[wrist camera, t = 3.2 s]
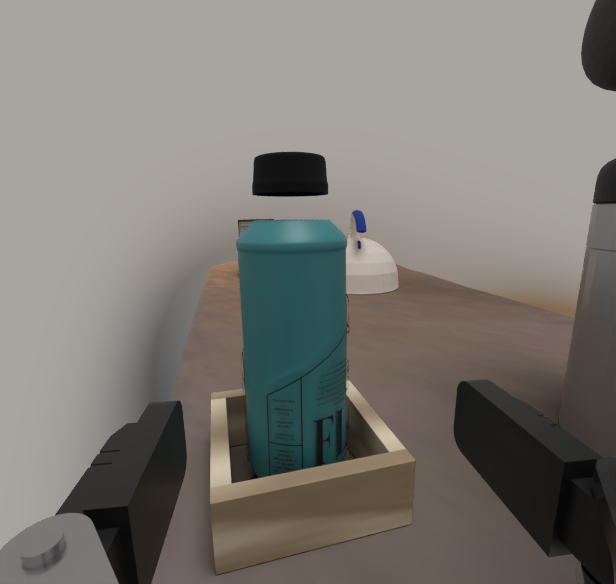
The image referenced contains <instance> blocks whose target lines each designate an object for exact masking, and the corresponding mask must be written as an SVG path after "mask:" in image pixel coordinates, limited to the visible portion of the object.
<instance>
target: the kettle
mask: <svg viewBox="0 0 616 584" xmlns="http://www.w3.org/2000/svg"><path fill="white" fill-rule="evenodd" d="M363 232H366V224H365V218H364V215H363V213H362V212H361V211H358V210H356V211H354V212H352V215H351V224H350V233H349V234H348V235H347V248H346V294H348V295H370V294H381V293H387V292H391V291H394V290H396V289H397V288H398V287H399V286H398V271H397V267H396V265H395V263H394V260H393V258H392V257H391V255H390V254H389V253H388V251H386V249H384V248H383V247H382V246H381V245H380V244H378V243H376V242H374V241H372V240H369V239H365V238H359V233H363Z"/></svg>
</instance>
